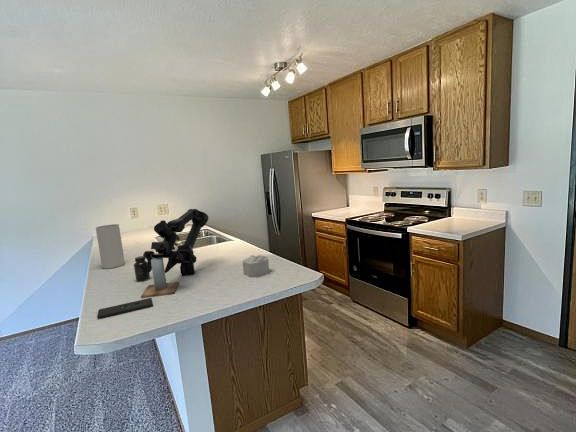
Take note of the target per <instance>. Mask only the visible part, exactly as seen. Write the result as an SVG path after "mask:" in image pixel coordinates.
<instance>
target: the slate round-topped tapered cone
mask: <svg viewBox="0 0 576 432" xmlns="http://www.w3.org/2000/svg"><path fill="white" fill-rule="evenodd" d="M151 265H152V270H151V271H152V278H153V285H154V286H155V290H163V289H165V288H167V285H166V283H167V279H166V273H165V264H164V258H154V259H152V260H151Z"/></svg>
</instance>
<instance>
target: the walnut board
mask: <svg viewBox="0 0 576 432" xmlns="http://www.w3.org/2000/svg"><path fill="white" fill-rule="evenodd" d="M179 284H180V283H179V281H171V282H166V285H167V288H165V289H163V290H155V286H154V284H148V285H147V287H146V288H145V290H144V291H143V292H142V294H141V296H140V298H141V299H147V298H152V297H154V298H155V297H159V296H160V297H161V296H167V295H169V296H170V295H174V294H175V293H176V290H177V289H178V287H179Z"/></svg>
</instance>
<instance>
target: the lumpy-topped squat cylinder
mask: <svg viewBox="0 0 576 432" xmlns="http://www.w3.org/2000/svg"><path fill="white" fill-rule="evenodd" d="M242 270H243V275H244V276H247V277H248V278H257V277H261V276H264V275H267V274H268V273H270V265H269V256H267V255H266V256H265V255H261V254H258V255H253V254H252V255H250V256H249V257H247V258H245V259H243V260H242Z"/></svg>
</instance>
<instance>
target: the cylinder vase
mask: <svg viewBox="0 0 576 432" xmlns="http://www.w3.org/2000/svg"><path fill="white" fill-rule="evenodd" d="M95 231H96V238H97V239H96V240H97V244H98V245H97V246H98V251H99V257H100V264H101V267H102V268H103V269H105V270H107V269H108V270H109V269H114V268H119V267H122V266H124V265H125V262H126V261H125V256H124V255H125V254H124V249H123V243H122V235H121V230H120V224H117V223H116V224H104V225H99V226H96V227H95Z"/></svg>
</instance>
